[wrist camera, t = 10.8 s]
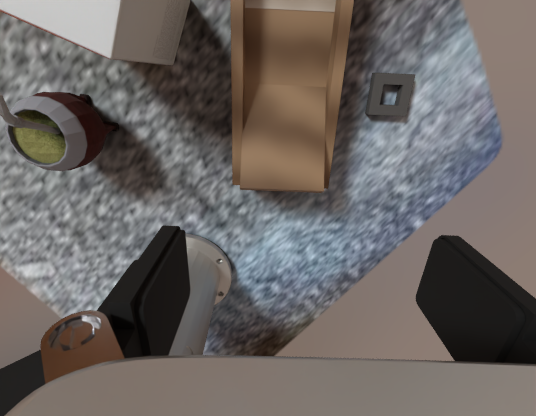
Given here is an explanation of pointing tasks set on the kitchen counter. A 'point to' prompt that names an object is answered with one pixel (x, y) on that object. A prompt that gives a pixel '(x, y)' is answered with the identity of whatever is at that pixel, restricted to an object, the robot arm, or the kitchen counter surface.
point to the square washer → (401, 100)
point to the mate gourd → (55, 130)
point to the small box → (110, 25)
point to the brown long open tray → (286, 91)
